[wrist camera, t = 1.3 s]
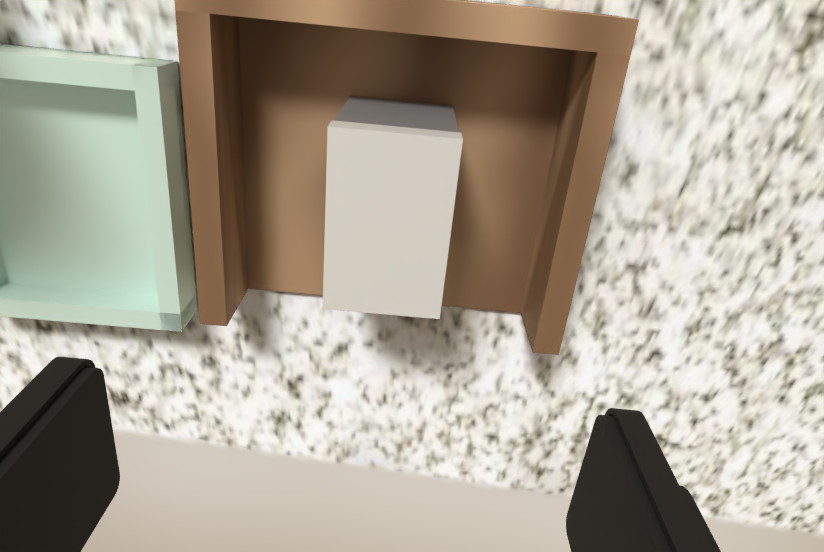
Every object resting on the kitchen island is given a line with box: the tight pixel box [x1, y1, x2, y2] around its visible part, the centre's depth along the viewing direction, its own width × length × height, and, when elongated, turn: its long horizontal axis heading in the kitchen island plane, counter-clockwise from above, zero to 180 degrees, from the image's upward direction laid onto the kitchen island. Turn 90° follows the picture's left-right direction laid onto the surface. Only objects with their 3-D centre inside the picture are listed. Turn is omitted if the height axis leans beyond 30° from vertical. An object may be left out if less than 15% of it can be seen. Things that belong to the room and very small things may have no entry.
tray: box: [0, 44, 197, 332], centre depth 27 cm, size 10×12×2 cm
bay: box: [175, 0, 639, 355], centre depth 26 cm, size 16×14×4 cm
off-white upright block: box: [323, 96, 463, 319], centre depth 25 cm, size 5×7×6 cm, turn 175°
